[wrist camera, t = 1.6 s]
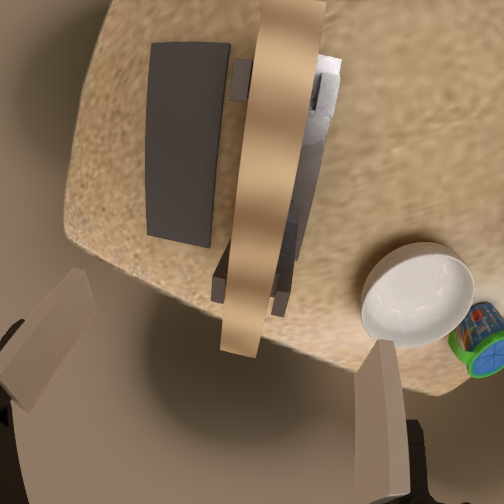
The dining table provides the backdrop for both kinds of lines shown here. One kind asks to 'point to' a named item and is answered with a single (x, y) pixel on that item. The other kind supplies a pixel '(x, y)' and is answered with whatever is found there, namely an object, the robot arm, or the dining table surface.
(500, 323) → the snack cup
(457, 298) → the cereal bowl
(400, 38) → the dining table surface
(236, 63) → the stand
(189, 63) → the black rubber mat
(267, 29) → the maple rail
